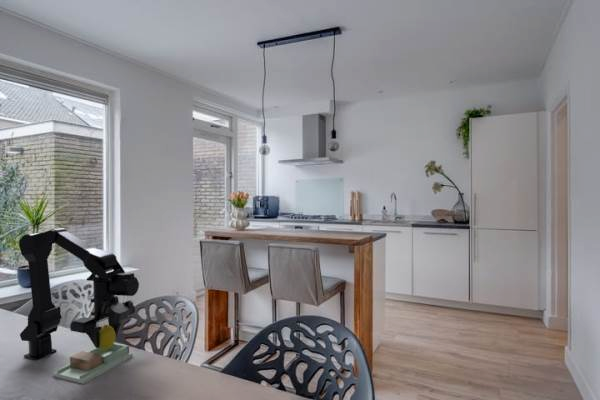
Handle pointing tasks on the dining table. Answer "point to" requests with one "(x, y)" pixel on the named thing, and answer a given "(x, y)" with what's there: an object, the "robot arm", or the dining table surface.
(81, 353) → the tan rectangular block
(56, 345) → the dining table surface
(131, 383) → the dining table surface
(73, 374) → the tray
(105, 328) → the lemon
